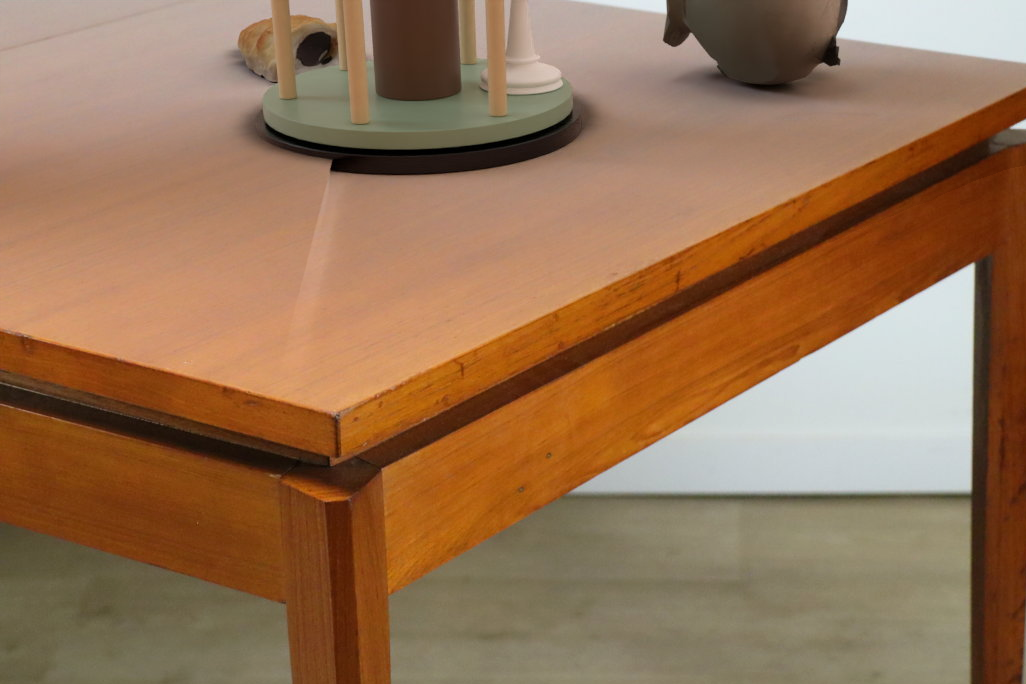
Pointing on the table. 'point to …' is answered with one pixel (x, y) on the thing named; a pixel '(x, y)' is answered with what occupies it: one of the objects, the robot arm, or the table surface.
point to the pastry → (310, 46)
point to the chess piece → (524, 58)
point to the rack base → (432, 150)
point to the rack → (406, 81)
